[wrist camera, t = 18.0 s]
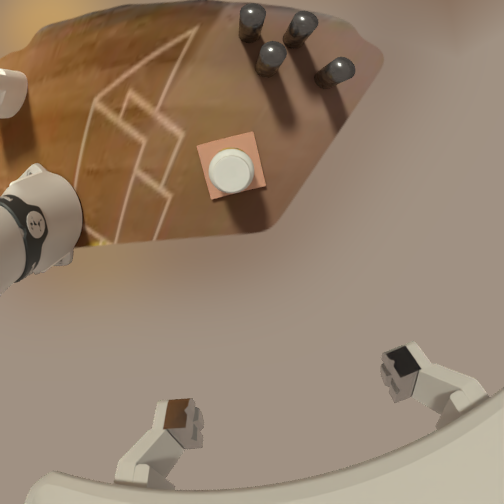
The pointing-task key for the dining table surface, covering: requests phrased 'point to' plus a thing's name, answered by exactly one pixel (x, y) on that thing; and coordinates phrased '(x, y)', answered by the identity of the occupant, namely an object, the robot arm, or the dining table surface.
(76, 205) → the robot arm
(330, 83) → the posts
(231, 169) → the supplement bottle
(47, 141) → the dining table surface
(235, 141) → the terracotta tile
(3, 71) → the cylinder with rectangular tab
